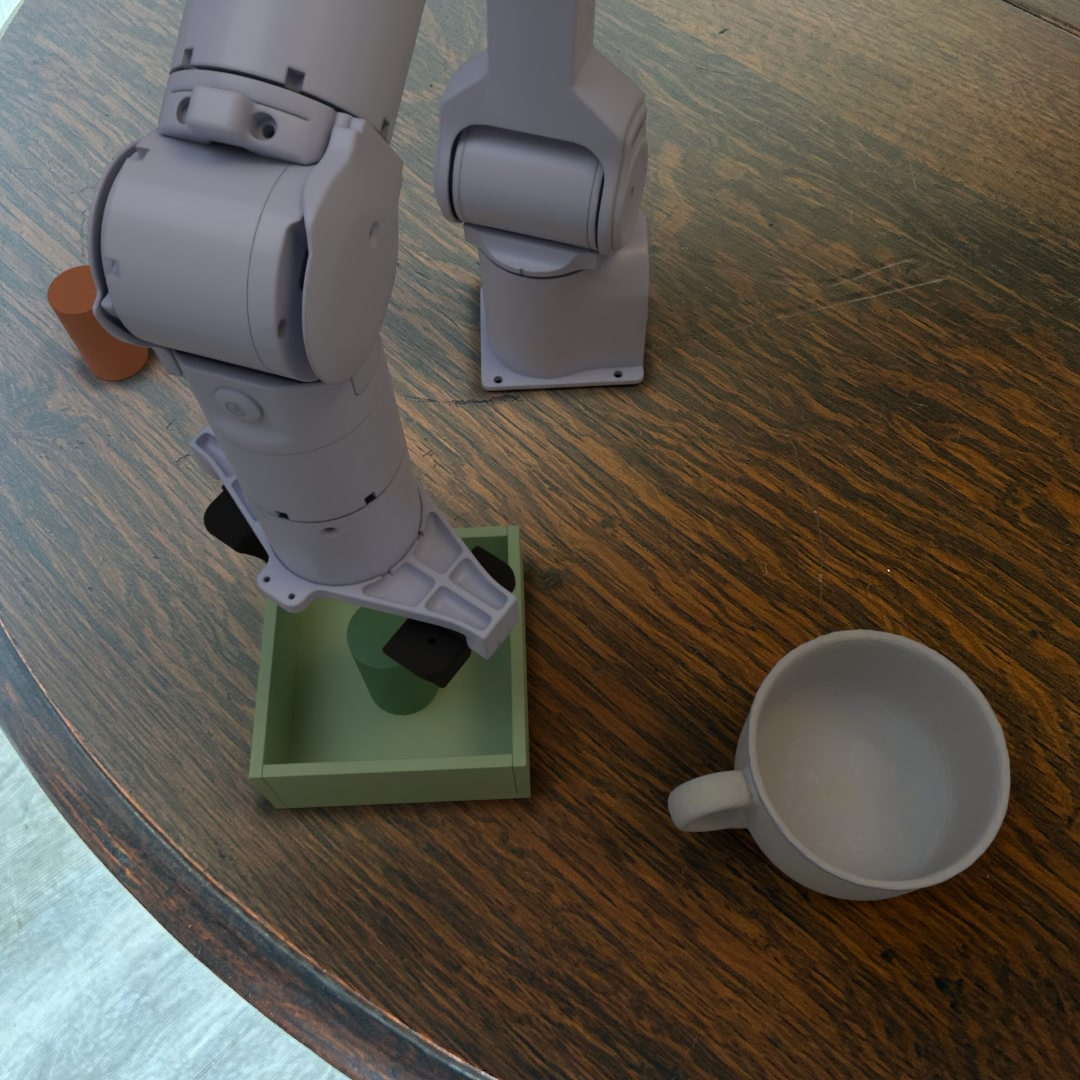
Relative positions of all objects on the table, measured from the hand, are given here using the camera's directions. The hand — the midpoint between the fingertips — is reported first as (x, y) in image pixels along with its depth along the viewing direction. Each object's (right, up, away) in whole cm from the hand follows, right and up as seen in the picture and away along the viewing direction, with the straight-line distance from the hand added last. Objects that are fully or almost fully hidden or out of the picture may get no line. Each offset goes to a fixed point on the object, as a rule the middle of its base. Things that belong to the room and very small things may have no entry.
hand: (383, 621), depth 48 cm
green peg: (0, -3, +6) cm, 7 cm away
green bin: (0, -4, +7) cm, 7 cm away
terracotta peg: (-19, +15, +17) cm, 29 cm away
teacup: (+19, -9, +3) cm, 22 cm away
